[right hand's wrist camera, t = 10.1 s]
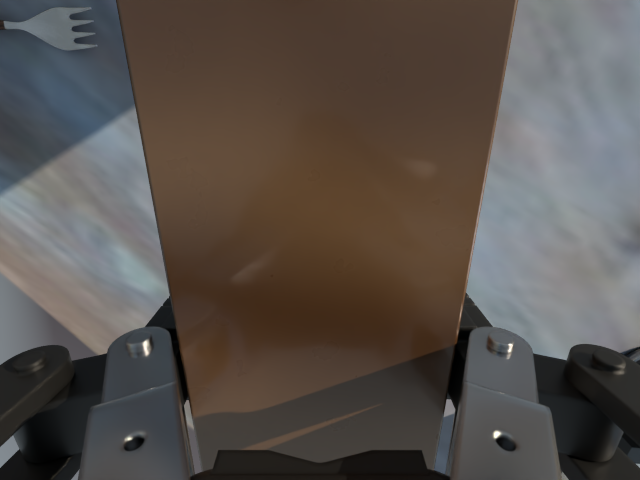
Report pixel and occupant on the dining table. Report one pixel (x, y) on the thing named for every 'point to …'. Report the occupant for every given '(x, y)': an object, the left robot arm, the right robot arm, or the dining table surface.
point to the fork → (54, 27)
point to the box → (317, 208)
